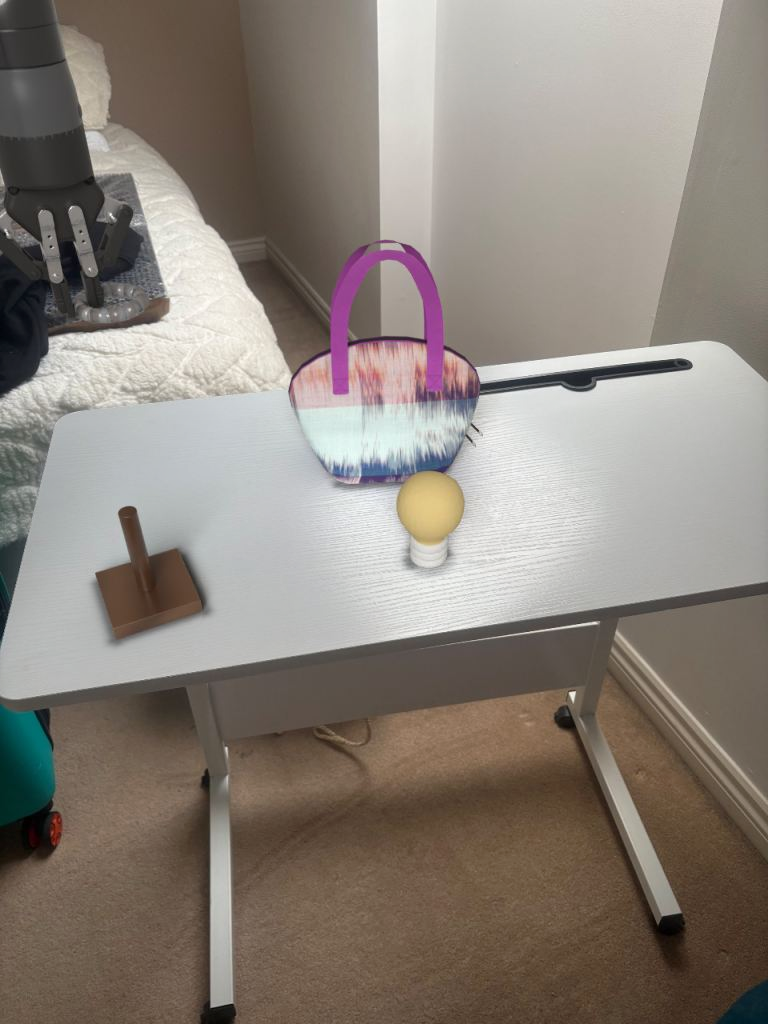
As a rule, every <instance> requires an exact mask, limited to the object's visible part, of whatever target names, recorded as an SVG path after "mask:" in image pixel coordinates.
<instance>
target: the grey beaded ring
mask: <svg viewBox="0 0 768 1024" xmlns="http://www.w3.org/2000/svg"><path fill="white" fill-rule="evenodd" d="M101 288H102V293H103V297H104V300H106V299H111V298H123V299H129V300H130V301H129V302H127V303H124V304H123V305H118V306H112V307H99V308H93V307H90V306H88V302H87V298H86V294H85V290H81V291H79V292H78V293H77V294H76V295H75V297H74V298H73V299H72V303H73V307H74V311H75V315H76V318H77V319H80V320H81V321H82V320H83V321H85V322H88V323H91V324H115V323H119V322H126V321H128V320H131V319H133V318H135V317H138V316H139V315H141V314H143V312H144V311H145V310H146V309H147V307H148V305H149V304H150V298H149V295H148V294H147V293H146V291H145V290H144V289H143V288H142V287H140V286H137V285H134V284H131V283H126V282H125V283H124V282H109V283H108V282H107V283H103V284H101Z"/></svg>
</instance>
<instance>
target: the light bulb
mask: <svg viewBox="0 0 768 1024" xmlns="http://www.w3.org/2000/svg"><path fill="white" fill-rule="evenodd" d="M397 493H398V494H397V496H396V502H395V507H396V509H395V510H396V514H397V517H398V520H399V521H400V523H401V525H402V526H403V528H404V529H405V530H406V531H407V532H408V534H409V552H408V553H409V555H408V556H409V559H410V560H411V562H412V563H413V564H414V565H415V566H418V567H420V568H425V569H434V568H437V567H440V566H441V565H443V564H444V563H445V562H446V560H447V559H448V549H449V535H450V534H452V533H453V532H454V531H455V530H456V529H457V527H458V526H459V525H460V524H461V522H462V519H463V517H464V513H465V506H466V504H465V503H466V502H465V497H464V492H463V490H462V488H461V486H460V484H459V483H458V481H457V479H455V478H454V477H452V476H450V475H449V474H447V473H445V472H444V473H440V472H436V471H422V472H418V473H416V474H414V475H412V476H411V477H410V478H408V479H407V480H406V482H403V484H402V486H401V487H400V489H399V491H398V492H397Z"/></svg>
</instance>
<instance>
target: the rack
mask: <svg viewBox="0 0 768 1024" xmlns="http://www.w3.org/2000/svg"><path fill="white" fill-rule="evenodd" d="M117 516H118V519H119V523H120V528H121V530H122V534H123V538H124V541H125V545H126V549H127V553H128V556H129V560H130V561H129V562H126V563H123V564H119V565H116V566H112V567H110V568H106V569H103V570H100V571H96V572H95V573H94V575H95V578H96V583H97V585H98V588H99V591H100V594H101V597H102V600H103V603H104V607H105V610H106V613H107V616H108V619H109V623H110V625H111V629H112V632H113V635H114V637H115V640H120V639H124V638H126V637H130V636H132V635H135V634H138V633H141V632H144V631H148V630H151V629H153V628H157V627H159V626H162V625H166V624H168V623H171V622H174V621H178V620H181V619H185V618H187V617H189V616H193V615H195V614H198V613H201V612H203V611H204V609H203V608H204V607H203V603H202V600H201V597H200V595H199V593H198V590H197V588H196V586H195V584H194V581H193V580H192V577H191V575H190V573H189V570H188V568H187V566H186V564H185V561H184V559H183V557H182V554H181V552H180V550H179V548H178V547H176V548H172V549H169V550H166V551H163V552H159V553H156V554H153V555H149V552H148V548H147V545H146V541H145V536H144V533H143V529H142V524H141V521H140V517H139V513H138V509H137V508H136V507H135V506H133V505H125V506H122V507H120V508H119V510H118V511H117Z"/></svg>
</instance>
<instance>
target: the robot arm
mask: <svg viewBox="0 0 768 1024" xmlns="http://www.w3.org/2000/svg"><path fill="white" fill-rule="evenodd" d="M77 92H78V91H77V88H76V85H75V82H74V78H73V76H72V74H71V70H70V66H69V63H68V60H67V56H66V51H65V47H64V42H63V37H62V32H61V27H60V24H59V17H58V13H57V8H56V5H55V0H0V174H1V178H2V181H3V184H4V185H3V186H4V189H5V194H4V197H3V203H2V204H3V207H4V208H3V209H2V210H0V252H2V253H3V254H4V256H5V257H6V258H7V259H8V260H10V261H11V263H13V264H14V265H15V266H16V267H17V268H18V269H20V271H21V272H22V273H23V274H24V275H25V276H26V277H28V279H30V280H31V281H38V280H43V281H44V280H45V281H47V282H48V283H49V284H50V288H51V290H52V295H53V300H54V303H55V306H56V308H57V310H58V311H59V313H60V314H61V315H64V314H66V317H67V319H68V320H71V319H76V318H77V317H76V315H75V311H74V307H73V303H72V300H73V299H72V294H71V291H70V286H69V283H68V280H67V278H66V277H65V275H64V273H63V268H62V261H61V254H60V249H59V245H60V244H62V243H65V242H72V243H73V245H74V247H75V250H76V254H77V257H78V261H79V265H80V266H81V270H79V274H80V277H81V282H82V285H83V289H84V290H85V294H86V298H87V302H88V306H90V307H93V308H103V307H104V305H105V299H104V297H103V293H102V288H101V285H102V284H101V280H100V273H101V272H102V271H103V270H105V269H106V268H113V267H114V266H115V265H116V263H117V260H118V258H119V255H120V253H121V250H122V248H123V245H124V242H125V239H126V236H127V234H128V231H129V228H130V226H131V223H132V220H133V217H134V214H135V213H134V209H133V208H132V207H131V206H130V204H129V203H128V202H127V201H126V200H125V199H124V198H118V199H115V198H113V197H111V196H108V195H105V193H104V191H103V189H102V188H101V187H100V185H99V184H98V182H97V180H96V177H95V173H94V168H93V164H92V159H91V154H90V149H89V145H88V144H89V143H88V139H87V135H86V134H87V133H86V130H85V125H84V120H83V110H82V105H81V103H80V101H79V97H78V96H79V95H78V93H77ZM102 209H104V211H103V215H104V218H105V220H106V222H107V223H106V226H105V229H104V232H103V235H102V237H101V240H100V243H99V245H98V248H97V250H96V251H95V252H94V249H93V245H92V242H91V238H90V234H91V233H92V230H93V229H94V226H95V224H96V222H97V219H98V217H99V215H100V213H101V211H102ZM13 221H14V222H15V223H16V224H17V225H18V226H20V227H21V228H22V229H23V230H24V231H26V232H27V234H29V235H30V236H31V237H33V239H35V240H36V241H38V243H39V246H40V250H41V254H42V258H43V261H41V260H36V259H35V258H34V257H33V256H32V255H31V254H30V253H29V252H28V251H27V250H26V249H24V248H23V247H22V246H21V244H19V243H18V241H16V239H15V237H16V232H15V229H14V227H13V226H12V223H13Z"/></svg>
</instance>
